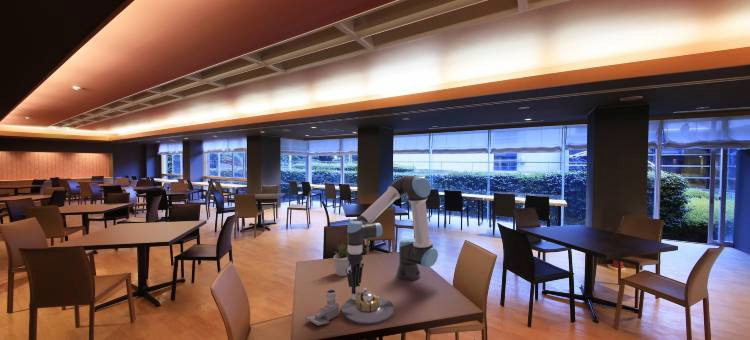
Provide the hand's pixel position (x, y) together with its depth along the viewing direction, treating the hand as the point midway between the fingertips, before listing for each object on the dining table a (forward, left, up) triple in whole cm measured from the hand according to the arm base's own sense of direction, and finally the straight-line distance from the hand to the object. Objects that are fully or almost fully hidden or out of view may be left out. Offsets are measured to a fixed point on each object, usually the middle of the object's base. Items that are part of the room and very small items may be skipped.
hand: (355, 299), depth 145 cm
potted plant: (+4, -45, -4) cm, 45 cm away
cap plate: (-6, +6, -3) cm, 9 cm away
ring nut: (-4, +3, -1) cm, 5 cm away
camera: (+15, +11, -4) cm, 19 cm away
